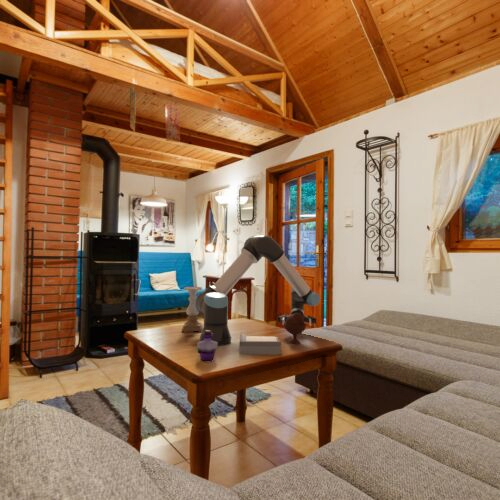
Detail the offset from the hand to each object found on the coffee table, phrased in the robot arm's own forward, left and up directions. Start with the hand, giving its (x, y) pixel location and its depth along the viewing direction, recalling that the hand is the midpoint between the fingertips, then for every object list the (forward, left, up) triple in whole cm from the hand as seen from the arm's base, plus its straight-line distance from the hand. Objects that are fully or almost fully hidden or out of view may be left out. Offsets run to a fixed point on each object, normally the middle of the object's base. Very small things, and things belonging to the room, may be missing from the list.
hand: (296, 323), depth 175 cm
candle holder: (-55, +21, -9) cm, 60 cm away
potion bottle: (-41, -32, -9) cm, 53 cm away
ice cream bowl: (-1, -4, -9) cm, 10 cm away
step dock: (-19, -15, -9) cm, 26 cm away
